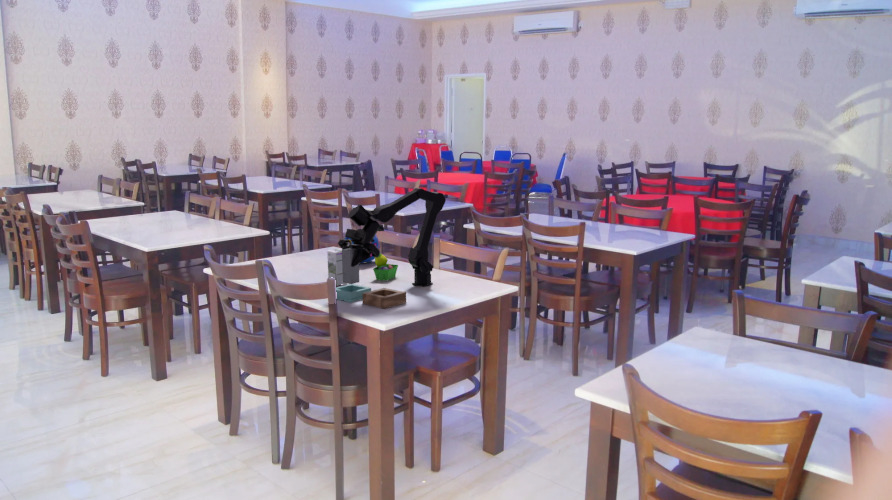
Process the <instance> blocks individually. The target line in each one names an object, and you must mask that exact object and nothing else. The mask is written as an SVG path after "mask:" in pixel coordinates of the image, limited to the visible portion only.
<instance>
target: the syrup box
mask: <svg viewBox="0 0 892 500" xmlns="http://www.w3.org/2000/svg"><path fill="white" fill-rule="evenodd" d="M326 252H327V269H328V270H327V272H328V273H327V277H328V279H329V278H331V277H333V278H335V280H336V285H341V284H345V285H348V284H347V283H343V272H342V249H337V248H335V249H328V250H327V251H326ZM341 286H342V285H341Z"/></svg>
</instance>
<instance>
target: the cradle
mask: <svg viewBox="0 0 892 500" xmlns="http://www.w3.org/2000/svg"><path fill="white" fill-rule="evenodd" d="M335 288H336V292H337V299H339V300H338V301H341V300H344V301H343V302H346V301H347V302H346V303H350V302H351V303H354V301H355V302H358V301H363V297H362V293H366V292H370V291H372V287H370V286H369V287H368V286H363V285H359V284H356V283H354V284H345V285H341V286H336V287H335ZM337 299H336V300H337Z"/></svg>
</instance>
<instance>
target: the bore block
mask: <svg viewBox="0 0 892 500" xmlns="http://www.w3.org/2000/svg"><path fill="white" fill-rule="evenodd" d="M362 297H363V299H362V304H363V305H366V306H371V307H375V308H380V309H383V310H386V309H389V308H392V307H396V306H399V305H403V304H406V303H407V292H406V291H402V290H397V289H391V288H387V287H381V288H379V289H374V290H371V291H370V292H366V293H362Z"/></svg>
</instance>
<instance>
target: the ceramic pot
mask: <svg viewBox="0 0 892 500" xmlns="http://www.w3.org/2000/svg"><path fill="white" fill-rule="evenodd" d="M343 239H345V240H349V241H350V242H351V243H352V244H353V242H352V241H351V238H348V237H345V236H344V238H343ZM373 239H374V240H375V241H374V242H371V243H372V244H375V246H376V247H377V248H378V249H379V250H381V249H380V248H381V245H380V239H379V238H378V236H377V234H376V235H375V237H374V238H373ZM370 256H371V258H368V259H366V260H364V261H362V262H361V263H360V264H365V263H364V262H367V263H370V262H372V261H373V260H374V261H375V257H373V256H372V253H371V255H370Z"/></svg>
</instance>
